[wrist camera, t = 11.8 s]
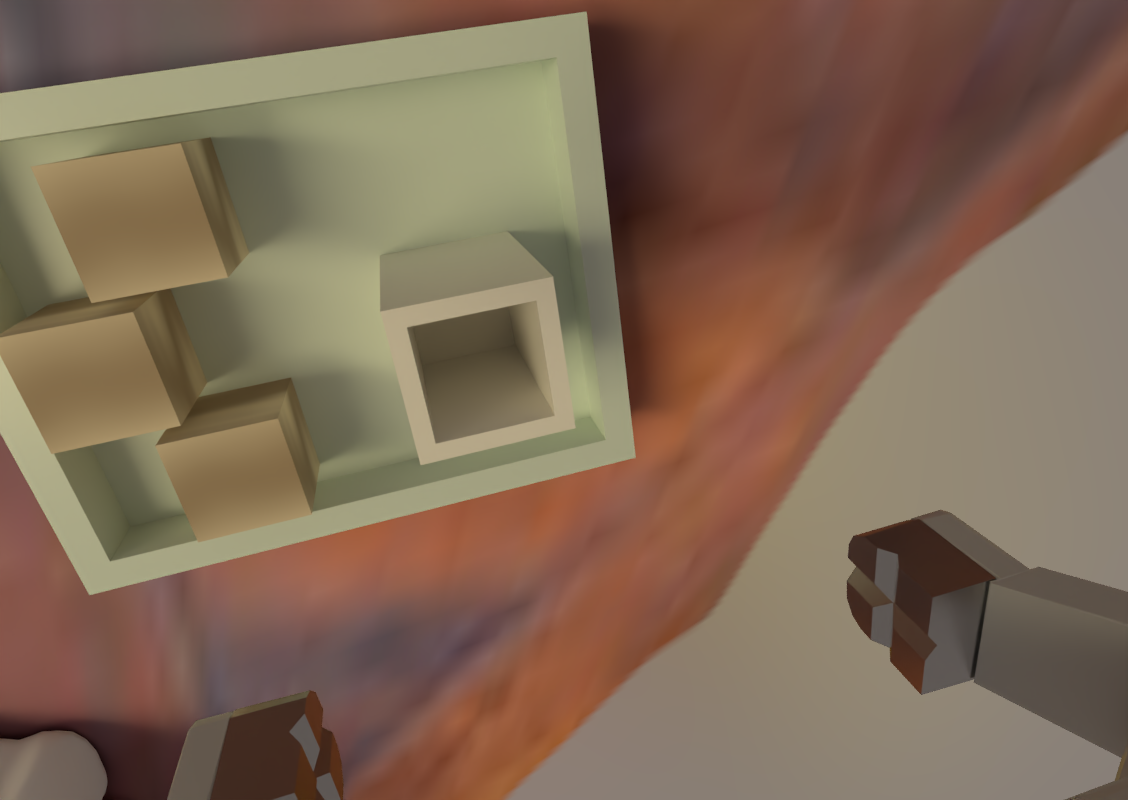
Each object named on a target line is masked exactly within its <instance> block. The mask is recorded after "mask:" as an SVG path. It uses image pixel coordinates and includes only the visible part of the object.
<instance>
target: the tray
mask: <svg viewBox="0 0 1128 800" xmlns="http://www.w3.org/2000/svg"><path fill="white" fill-rule="evenodd" d="M209 137H211V140H212V143H213V146H214V149H215V152H216V155H217V158H218V161H219V164H220V167H221V170H222V173H223V176H224V179H225V182H226V185H227V188H228V191H229V194H230V197H231V200H232V203H233V206H234V209H235V212H236V215H237V218H238V221H239V224H240V227H241V230H242V232H243V235H244V238H245V241H246V244H247V247H248V250H249V254H248V255H247V256H246V257H245V258H244V260H243V261H242V262H241V263H240V264H239V265H238V267H237V268H236V269H235V270H234V271H233V272H232V274H231V275H230V276H229V277H228V278H223V279H217V280H212V281H207V282H201V283H196V284H191V285H185V286H180V287H175V288H170V289H171V291H172V294H173V296H174V299H175V301H176V304H177V306H178V309H179V312H180V314H181V317H182V319H183V322H184V324H185V327H186V329H187V332H188V335H189V337H190V340H191V342H192V345H193V347H194V350H195V352H196V355H197V357H198V360H199V363H200V365H201V368H202V370H203V373H204V375H205V378H206V380H207V384H206V386H205V387H204V389H203V391H202V392H201V394H200V396H199V397H202V396H206V395H211V394H216V393H220V392H225V391H230V390H235V389H239V388H244V387H249V386H253V385H258V384H263V383H267V382H272V381H277V380H281V379H286V378H291V379H292V382H293V385H294V388H295V391H296V394H297V397H298V400H299V403H300V406H301V409H302V412H303V415H304V418H305V421H306V424H307V427H308V430H309V433H310V436H311V439H312V442H313V445H314V448H315V451H316V454H317V457H318V460H319V463H320V467H319V473H318V480H317V486H316V492H315V498H314V504H313V510H312V515H308V516H304V517H300V518H296V519H292V520H288V521H283V522H279V523H275V524H271V525H267V526H263V527H259V528H255V529H251V530H247V531H243V532H239V533H235V534H231V535H227V536H223V537H218V538H214V539H210V540H206V541H202V542H198V541H197V539H196V536H195V534H194V532H193V530H192V527H191V525H190V523H189V521H188V518H187V516H186V514H185V512H184V509H183V507H182V505H181V503H180V500H179V498H178V496H177V494H176V491H175V489H174V487H173V485H172V482H171V480H170V478H169V476H168V474H167V471H166V469H165V467H164V465H163V462H162V460H161V458H160V456H159V453H158V451H157V449H156V447H155V445H156V444H157V442H158V441H159V439H160V438H161V436H162V435H163V433H164V431H165V430H166V429H164V430H159V431H155V432H150V433H146V434H141V435H137V436H132V437H127V438H123V439H118V440H114V441H109V442H105V443H100V444H96V445H91V446H86V447H82V448H77V449H73V450H68V451H64V452H59V453H54V454H51V452H50V450H49V448H48V446H47V444H46V443H45V441H44V439H43V437H42V435H41V433H40V431H39V429H38V427H37V425H36V423H35V421H34V420H33V418H32V416H31V414H30V412H29V410H28V408H27V406H26V404H25V402H24V400H23V398H22V397H21V395H20V393H19V391H18V389H17V387H16V385H15V383H14V381H13V379H12V377H11V375H10V374H9V372H8V370H7V368H6V366H5V364H4V362H3V360H2V358H1V356H0V433H1V435H2V437H3V439H4V441H5V442H6V444H7V446H8V448H9V450H10V451H11V453H12V455H13V457H14V459H15V461H16V462H17V464H18V466H19V468H20V470H21V471H22V473H23V475H24V477H25V479H26V481H27V482H28V484H29V486H30V488H31V490H32V491H33V493H34V495H35V497H36V499H37V501H38V502H39V504H40V506H41V508H42V510H43V511H44V513H45V515H46V517H47V519H48V521H49V522H50V524H51V526H52V528H53V530H54V531H55V533H56V535H57V537H58V539H59V541H60V542H61V544H62V546H63V548H64V550H65V551H66V553H67V555H68V557H69V559H70V561H71V562H72V564H73V566H74V568H75V570H76V571H77V573H78V575H79V577H80V579H81V581H82V582H83V584H84V586H85V588H86V590H87V591H88V593H89V595H92V594H96V593H100V592H104V591H108V590H112V589H116V588H119V587H123V586H127V585H131V584H135V583H139V582H143V581H147V580H151V579H155V578H159V577H163V576H167V575H171V574H175V573H179V572H183V571H187V570H191V569H195V568H199V567H203V566H207V565H211V564H215V563H219V562H223V561H227V560H231V559H235V558H239V557H243V556H247V555H251V554H255V553H258V552H262V551H266V550H270V549H274V548H278V547H282V546H286V545H290V544H294V543H298V542H302V541H306V540H310V539H314V538H318V537H322V536H326V535H330V534H334V533H338V532H342V531H346V530H350V529H354V528H358V527H362V526H366V525H370V524H374V523H378V522H382V521H386V520H390V519H394V518H397V517H401V516H405V515H409V514H413V513H417V512H421V511H425V510H429V509H433V508H437V507H441V506H445V505H449V504H453V503H457V502H461V501H465V500H469V499H473V498H477V497H481V496H485V495H489V494H493V493H497V492H501V491H505V490H509V489H513V488H517V487H521V486H525V485H529V484H533V483H536V482H540V481H544V480H548V479H552V478H556V477H560V476H564V475H568V474H572V473H576V472H580V471H584V470H588V469H592V468H596V467H600V466H604V465H608V464H612V463H616V462H620V461H624V460H628V459H632V458H636V457H635V448H634V439H633V430H632V421H631V412H630V403H629V394H628V385H627V375H626V366H625V357H624V348H623V339H622V330H621V321H620V312H619V303H618V294H617V284H616V275H615V266H614V257H613V248H612V239H611V230H610V221H609V212H608V202H607V193H606V184H605V175H604V166H603V157H602V148H601V139H600V130H599V121H598V111H597V102H596V93H595V84H594V75H593V66H592V57H591V48H590V39H589V29H588V20H587V12H580V13H573V14H566V15H559V16H552V17H545V18H537V19H530V20H523V21H516V22H509V23H502V24H494V25H487V26H480V27H473V28H466V29H458V30H451V31H444V32H437V33H430V34H423V35H415V36H408V37H401V38H394V39H387V40H380V41H372V42H365V43H358V44H351V45H344V46H337V47H329V48H322V49H315V50H308V51H301V52H294V53H286V54H279V55H272V56H265V57H258V58H251V59H243V60H236V61H229V62H222V63H215V64H208V65H200V66H193V67H186V68H179V69H172V70H165V71H157V72H150V73H143V74H136V75H129V76H122V77H114V78H107V79H100V80H93V81H86V82H79V83H71V84H64V85H57V86H50V87H43V88H36V89H28V90H21V91H14V92H7V93H0V334H1V333H3V332H4V331H6V330H8V329H9V328H11V327H12V326H14V325H16V324H17V323H19V322H21V321H22V320H24V319H26V318H27V317H29V316H30V315H32V314H34V313H35V312H37V311H39V310H40V309H42V308H44V307H45V306H47V305H49V304H54V303H60V302H65V301H71V300H76V299H81V298H87V297H89V296H88V294H87V292H86V290H85V288H84V285H83V283H82V281H81V279H80V276H79V274H78V272H77V270H76V267H75V265H74V263H73V261H72V258H71V256H70V254H69V252H68V249H67V247H66V245H65V243H64V240H63V238H62V236H61V234H60V231H59V229H58V227H57V225H56V223H55V220H54V218H53V216H52V214H51V211H50V209H49V207H48V205H47V202H46V200H45V198H44V196H43V193H42V191H41V189H40V187H39V184H38V182H37V180H36V178H35V175H34V173H33V171H32V169H31V167H32V166H37V165H43V164H48V163H54V162H59V161H65V160H70V159H76V158H81V157H87V156H94V155H100V154H106V153H113V152H119V151H126V150H132V149H139V148H145V147H151V146H158V145H164V144H171V143H177V142H183V141H190V140H196V139H203V138H209ZM506 231H508V232H509V233H510V234H511V235H512V236H513V237H514V238H515V239H516V240H517V241H518V242H519V243H520V244H521V245H522V246H523V247H524V248H525V249H526V250H527V251H528V252H529V253H530V254H531V255H532V256H533V257H534V258H535V259H536V260H537V261H538V262H539V263H540V264H541V265H542V266H543V267H544V268H545V269H546V270H547V271H548V272H549V273H550V274H551V275H552V276H553V279H554V286H555V292H556V299H557V306H558V313H559V319H560V326H561V333H562V339H563V346H564V353H565V360H566V366H567V373H568V380H569V386H570V393H571V400H572V407H573V413H574V420H575V427H576V428H574V429H570V430H566V431H561V432H557V433H553V434H549V435H545V436H541V437H536V438H532V439H528V440H524V441H520V442H516V443H512V444H507V445H503V446H499V447H495V448H491V449H487V450H482V451H478V452H474V453H470V454H466V455H462V456H458V457H453V458H449V459H445V460H441V461H437V462H433V463H429V464H424V465H420V461H419V457H418V453H417V450H416V446H415V442H414V438H413V434H412V431H411V427H410V423H409V419H408V415H407V412H406V408H405V404H404V400H403V396H402V393H401V389H400V385H399V381H398V377H397V374H396V370H395V366H394V362H393V358H392V355H391V351H390V347H389V343H388V339H387V336H386V332H385V328H384V324H383V320H382V317H381V313H380V255H384V254H390V253H395V252H400V251H406V250H411V249H416V248H421V247H427V246H432V245H437V244H442V243H448V242H453V241H458V240H464V239H469V238H474V237H479V236H485V235H490V234H495V233H501V232H506Z"/></svg>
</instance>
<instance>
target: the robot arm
mask: <svg viewBox="0 0 1128 800" xmlns="http://www.w3.org/2000/svg"><path fill="white" fill-rule="evenodd" d="M848 558H849V559H850V560H851V561H852V562H853V563H854V564H855V565H856V568H855V569H854V571H853V572H852V574H851V575H850V577H849V578H848V580H847V599H848V603H849V606H850V609H851V612H852V615H853V617H854V618H855V620H856V622H857V623H858V625H859V627H860V628H861V629H862V630H863V632H864V633H865V634H866V635H867V636H868V637H869V638H870V639H871V640H872V641H875V642H877V643H880V644H882V645H884V646H887V647H889V648H890V661H891V663H892V664H893V665H894V666H895V667H896V668H897V669H898V670H899V671H900V672H901V673H902V675H903V676H904V677H905V678H906V679H907V680H908V681H909V682H910V683H911V684H912V685H913V686H914V688H915V689H916V690H917V691H918V692H919V693H920V694H921V695H922V694H925V693H929V692H933V691H936V690H939V689H943V688H946V687H949V686H953V685H956V684H960V683H963V682H966V681H970V680H973V679H974V682H975V683H976V684H978V685H980V686H982V687H984V688H986V689H988V690H990V691H992V692H994V693H996V694H998V695H1000V696H1002V697H1003V698H1005V699H1007V700H1009V701H1011V702H1013V703H1015V704H1017V705H1019V706H1021V707H1023V708H1025V709H1027V710H1029V711H1031V712H1033V713H1035V714H1037V715H1039V716H1041V717H1043V718H1044V719H1046V720H1048V721H1050V722H1052V723H1054V724H1056V725H1058V726H1060V727H1062V728H1064V729H1066V730H1068V731H1070V732H1072V733H1074V734H1076V735H1078V736H1080V737H1082V738H1084V739H1086V740H1088V741H1089V742H1092V743H1093V744H1095V745H1097V746H1099V747H1101V748H1103V749H1105V750H1107V751H1109V752H1111V753H1113V754H1115V755H1117V756H1119V757H1121V758H1122V759H1121V762H1120V765H1119V768H1118V772H1117V775H1116V778H1115V781H1113V782H1111V783H1108V784H1106V785H1103V786H1100V787H1097V788H1095V789H1092V790H1089V791H1087V792H1084V793H1081V794H1079V795H1076V796H1073V797H1071V798H1068V799H1065V800H1128V592H1126V591H1123V590H1119V589H1116V588H1112V587H1108V586H1105V585H1101V584H1098V583H1094V582H1091V581H1087V580H1083V579H1080V578H1077V577H1073V576H1070V575H1066V574H1062V573H1059V572H1055V571H1051V570H1048V569H1045V568H1041V567H1037V568H1034V569H1029V568H1027V567H1026V566H1024V565H1023V564H1022V563H1020V562H1019V561H1017V560H1016V559H1015V558H1013V557H1012V556H1011V555H1009V554H1008V553H1006V552H1005V551H1004V550H1002V549H1001V548H999V547H998V546H997V545H995V544H994V543H992V542H991V541H990V540H988V539H987V538H985V537H984V536H983V535H981V534H980V533H978V532H977V531H976V530H974V529H973V528H971V527H970V526H969V525H967V524H966V523H964V522H963V521H961V520H960V519H959V518H957V517H956V516H955V515H953V514H952V513H950V512H946V511H943V510H938V511H935V512H932V513H928V514H925V515H922V516H918V517H915V518H912V519H911V520H906V521H903V522H899V523H896V524H893V525H889V526H886V527H883V528H879V529H876V530H872V531H869V532H865V533H862V534H859V535H855V536H853V538H852V540H851V541H850V543H849V552H848ZM322 718H323V708H322V706H321V703H320V701H319V699H318V697H317V694H316V692H313V691H311V690H310V691H306V692H302V693H298V694H294V695H290V696H286V697H283V698H279V699H275V700H271V701H267V702H263V703H259V704H256V705H252V706H248V707H244V708H240V709H236V710H235V711H233V712H228V713H225V714H221V715H217V716H213V717H209V718H205V719H201V720H197V721H196V722H195V723H194V724H193V725H192V727H191V728H190V729H189V731H188V733H187V736H186V739H185V742H184V746H183V749H182V752H181V755H180V759H179V762H178V765H177V769H176V772H175V775H174V778H173V782H172V785H171V788H170V791H169V795H168V798H167V800H343V786H344V784H343V774H342V763H341V758H340V754H339V750H338V746H337V743H336V740H335V738H334V735H333V733H332V732H331V731H329V730H327V729H325V728H323V727H322Z"/></svg>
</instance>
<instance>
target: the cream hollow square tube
mask: <svg viewBox="0 0 1128 800" xmlns="http://www.w3.org/2000/svg"><path fill="white" fill-rule="evenodd" d="M380 313H381V317H382V320H383V324H384V328H385V332H386V336H387V339H388V343H389V347H390V351H391V355H392V358H393V362H394V366H395V370H396V374H397V377H398V381H399V385H400V389H401V393H402V396H403V400H404V404H405V408H406V412H407V415H408V419H409V423H410V427H411V431H412V434H413V438H414V442H415V446H416V450H417V453H418V457H419V461H420V465H424V464H429V463H433V462H437V461H441V460H445V459H449V458H453V457H458V456H462V455H466V454H470V453H474V452H478V451H482V450H487V449H491V448H495V447H499V446H503V445H507V444H512V443H516V442H520V441H524V440H528V439H532V438H536V437H541V436H545V435H549V434H553V433H557V432H561V431H566V430H570V429H574V428H576V427H575V420H574V413H573V407H572V400H571V393H570V386H569V380H568V373H567V366H566V360H565V353H564V346H563V339H562V333H561V326H560V319H559V313H558V306H557V299H556V292H555V286H554V279H553V276H552V275H551V274H550V273H549V272H548V271H547V270H546V269H545V268H544V267H543V266H542V265H541V264H540V263H539V262H538V261H537V260H536V259H535V258H534V257H533V256H532V255H531V254H530V253H529V252H528V251H527V250H526V249H525V248H524V247H523V246H522V245H521V244H520V243H519V242H518V241H517V240H516V239H515V238H514V237H513V236H512V235H511V234H510V233H509V232H508V231H506V232H501V233H495V234H490V235H485V236H479V237H474V238H469V239H464V240H458V241H453V242H448V243H442V244H437V245H432V246H427V247H421V248H416V249H411V250H406V251H400V252H395V253H390V254H384V255H380Z"/></svg>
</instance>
